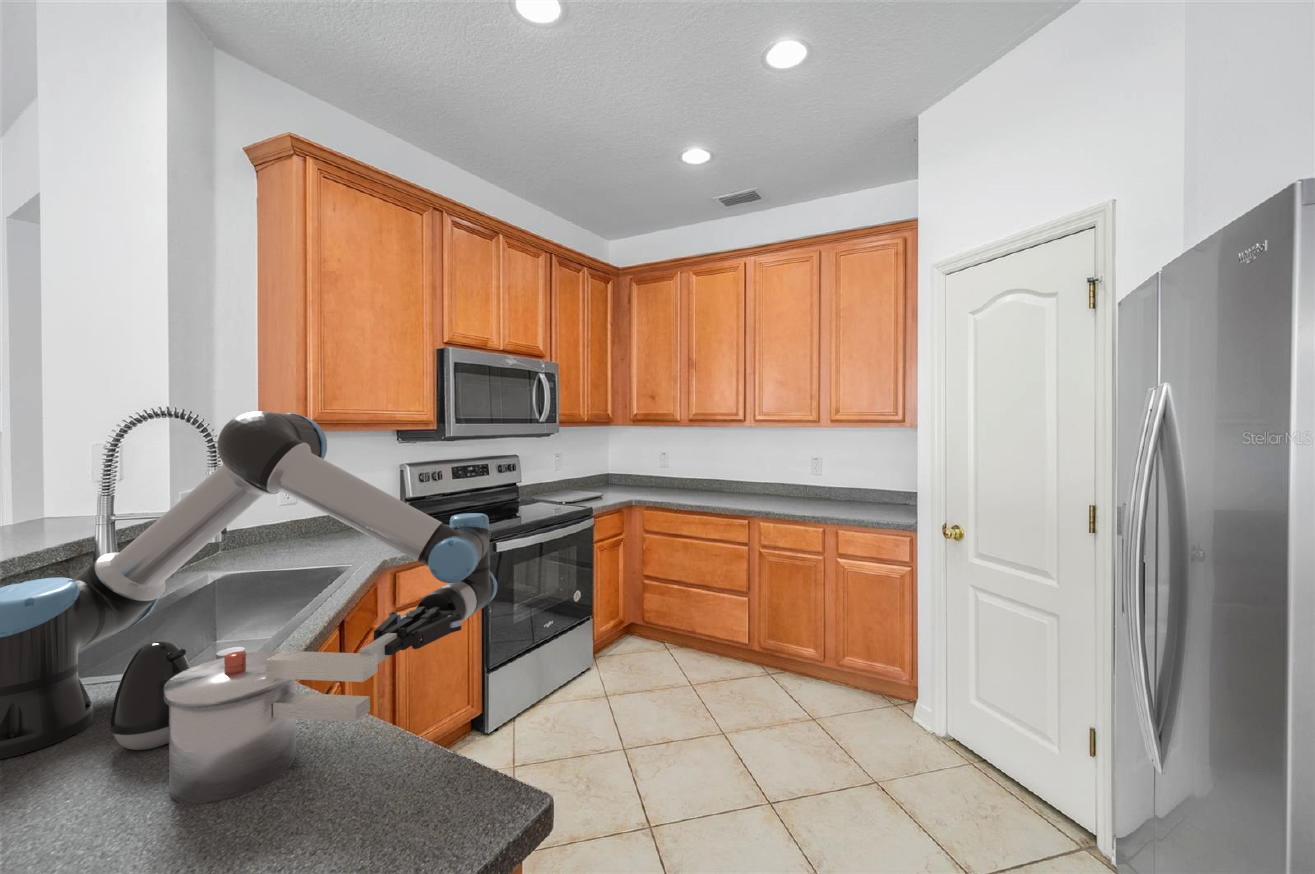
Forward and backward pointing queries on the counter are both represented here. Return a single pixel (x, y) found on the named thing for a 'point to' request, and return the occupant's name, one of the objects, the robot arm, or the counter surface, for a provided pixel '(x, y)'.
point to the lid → (261, 675)
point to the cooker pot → (244, 741)
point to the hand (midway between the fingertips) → (365, 658)
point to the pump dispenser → (146, 696)
